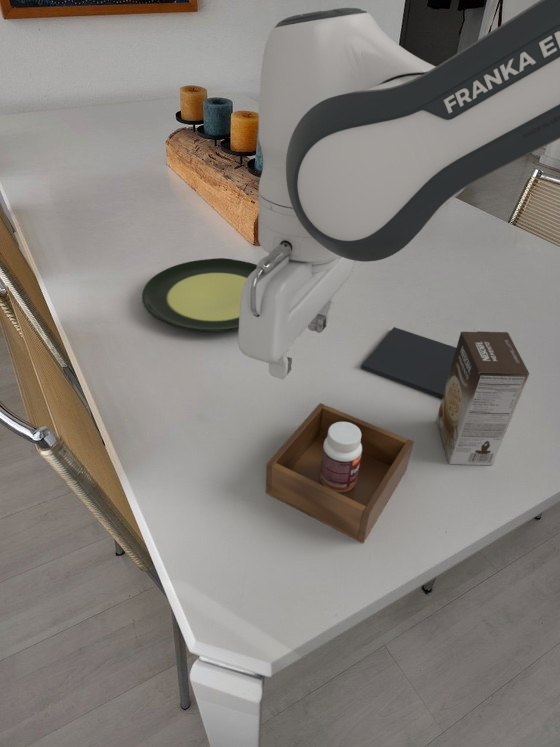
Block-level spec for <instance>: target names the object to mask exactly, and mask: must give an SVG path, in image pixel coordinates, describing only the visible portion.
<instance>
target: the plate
mask: <svg viewBox="0 0 560 747" xmlns="http://www.w3.org/2000/svg"><path fill="white" fill-rule="evenodd" d="M255 269H257V264H256V263H252V262H249V261H243V260H238V259H233V258H228V257H227V258H226V257H225V258H224V257H218V258H217V257H216V258H205V259H198V260H197V259H196V260H191V261H187V262H182V263H179V264H175V265H173V266H170V267H168V268H165V269H164V270H162V271H160V272H158V273H157V274H155V275H154V276H153V277H151V278H150V279H149V280H148V281H147V282H146V283H145V285H144V287H143V289H142V291H141V301H142V304H143V307H144V308H145V309H146V311H147V312H148V313H149V314H150V315H151V316H153V317H154V318H156V319H158V320H159V321H162V322H164V323H166V324H169V325H170V326H174V327H175V328H179V329H184V330H189V331H195V332H227V331H229V332H230V331H236V330H239V315H240V303H241V295H242V290H243V287H244V284H245V281H246V279H247V278H248V276H249V275H250V274H251V273H252V272H253V271H254V270H255Z"/></svg>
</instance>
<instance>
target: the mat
mask: <svg viewBox="0 0 560 747" xmlns="http://www.w3.org/2000/svg"><path fill="white" fill-rule="evenodd" d="M456 348H457V346H454V345H453V346H452V345H450V344H447V343H444V342H441V341H437V340H434V339H431V338H428V337H425V336H423V335H420V334H416V333H414V332H410V331H407V330H404V329H401V328H398V327H395V326H394V327H392V329H391V330H390V331H389V332H388V333H387V335H385V337H383V339H382V340H381V341H380V342H379V343H378V345H377V346H376V347H375V349H374V350H372V352H371V353H369V355H368V357H367V358H366V359H365V360H364V361H363V362H362V364H361V365H360V369H362V370H364V371H366V372H370V373H372V374H375V375H377V376H381V377H383V378H386V379H389V380H391V381H393V382H396V383H399V384H402V385H404V386H407V387H410V388H412V389H415V390H417V391H421V392H423V393H426V394H429V395H430V396H433V397H437V398H439V399H442V398H443V394H444V390H445V387H446V383H447V379H448V376H449V372H450V369H451V365H452V362H453V358H454V355H455V351H456Z"/></svg>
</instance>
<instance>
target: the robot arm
mask: <svg viewBox="0 0 560 747" xmlns="http://www.w3.org/2000/svg"><path fill="white" fill-rule="evenodd" d="M258 98H259V99H258V142H259V145H260V146H259V147H260V149H261V153H262V171H261V174H260V178H259V181H258V190H257V191H258V194H257V198H258V207H257V208H258V209H257V210H258V214H257V215H258V217H257V218H258V220H257V222H258V225H257V226H258V229H257V230H258V231H257V232H258V233H257V239H258V243H259V245H260V247H261V248H262V249H263V250H264V251H266V252H267V253H268V255H266V256H264V257H262V258H261V259H260V260H259V261H258V263H257V264H256V265H257V269H255V270H254V271H253V272H252V273H251V274H250V275H249V276H248V278H247V279H246V281H245V284H244V287H243V290H242V295H241V303H240V315H239V329H238V333H237V334H238V338H237V340H238V341H237V344H238V345H237V346H238V349H239V351H240V352H241V353H242V354H243V355H244V356H246V357H248V358H251V359H254V360H257V361H260V362H263V363H266V364H268V373H269V375H270V376H271V377H274V378H276V379H278V380H279V379H280V380H284V379H286V377H287V376H288V375H289V373H290V372H291V371H292V364H293V358H292V357H289V356H288V355H287V353H288V352H289V350H290V348H291V347H292V346H293V344H294V343H295V342H296V341H297V339H298V338H299V337H301V335H302V334H303V332H304V331H306V329H307V328H308V330H309V331H311V332H315V333H319V334H320V333H322V332H323V331H324V330H325V329H326V328H327V326H328V321H329V314H330V311H331V308H332V305H333V303H334V300H335V296H336V294H337V292H338V291H339V290H340V289H341V288H342V287H343V286H344V284H345V283H347V281H348V280H349V279H350V277H351V276H352V272H354V271H353V270H354V268H355V265H356V262H362V263H364V262H365V263H366V262H368V263H369V262H376V261H381V260H384V259H387V258H390V257H391V256H393V255H395V254H397V253H399V252H400V251H401V250H402V249H404V248H405V247H406V246H407V245H409V243H411V241H412V240H414V238H415V237H416V236H417V235H418V234H419V233H420V232H421V231H422V230H423V228H424V227H425V226H426V225H427V223H428V222H429V221H431V220H432V218H434V217H435V216H436V215H437V214H438V213H439V212H441V210H443V209H444V208H445V207H446V206H448V204H449V203H451V202H452V201H453V200H454V199H455V198H457V197H458V196H459V195H460V194H461V193H462V192H463V191H464V190H465V189H466V188H467V187H468V186H470V185H472V184H474V183H476V182H477V181H479V180H481V179H483V178H485V177H487V176H488V175H490V174H493V173H495V172H497V171H498V170H500V169H502V168H505V167H506V166H508V165H510V164H512V163H515V162H516V161H519V160H520V159H523V158H525V157H527V156H529V155H530V154H533V153H535V152H537V151H538V150H541V149H543V148H545V147H546V146H548V145H551V144H553V143H554V142H556V141H559V140H560V0H539V1H537V2H535V3H534V4H532V5H531V6H529V7H528V8H526V9H525V10H523V11H521V12H520V13H518V14H517V15H515V16H514V17H512V18H510V19H509V20H507V21H506V22H504V23H502V24H501V25H500V26H498V27H496V28H495V29H493V30H492V31H490V32H488V33H487V34H485V35H484V36H482V37H481V38H479V39H478V40H476V41H475V42H473V43H471V44H470V45H468V46H467V47H465V48H463V49H462V50H460V51H459V52H457V53H455V54H454V55H453V56H451V57H450V58H447V59H446V60H445V61H443V62H441V63H440V64H438V65H437V66H435V65H433V64H432V63H429V62H428V61H425V60H424V59H421V58H420V57H418V56H416V55H414V54H413V53H411V52H409V51H408V50H406V49H405V48H404V47H402V46H401V45H400V44H398V43H397V42H396V41H395V40H394V39H392V38H391V37H390V36H389V35H388V34H386V33H385V32H384V30H382V29H381V27H380V26H379V24H378V23H377V22H376V20H375V19H374V17H373V16H372V15H371V14H370V13H369V12H367V10H364V9H361V8H358V7H342V8H334V9H328V10H318V11H312V12H306V13H301V14H294V15H292V16H288V17H286V18H284V19H282V20H281V21H279V22H278V23H277V24H276V25H275V26H273V27H272V28H271V30H270V32H269V35H268V37H267V40H266V42H265V47H264V51H263V56H262V62H261V70H260V80H259V95H258Z"/></svg>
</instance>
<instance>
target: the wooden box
mask: <svg viewBox="0 0 560 747" xmlns="http://www.w3.org/2000/svg"><path fill="white" fill-rule="evenodd" d="M337 422H349V423H352V424H354V425H356V426H357V427H358V428H359V429H360V431H361V442H360V443H361V445H362V453H361V459H360V465H359V471H358V476H357V481H356V484H355V486H354V487H353V488H352V489H351V490H349V491H347V492H342V493H339V492H335V491H333V490H331V489H329V488H327V487H325V486H324V485H323V484H322V482H321V479H320V472H321V464H322V455H323V445H324V441H325V439H326V438H327V436H328V430H329V428H330V426H331V425H332V424H334V423H337ZM413 446H414V441H413V440H410V439H408V438H406V437H404V436H401V435H398V434H396V433H394V432H391V431H389V430H386V429H384V428H381V427H380V426H376V425H374V424H372V423H369V422H367V421H365V420H362V419H360V418H358V417H355V416H353V415H350V414H348V413H345V412H343V411H341V410H338V409H336V408H334V407H331V406H328V405H326V404H324V403H322V402H320V403H319V404H318V405H317V406H316V407H315V408H314V409H313V411H311V413H310V414H309V415H308V416H307V417H306V419H304V420H303V422H302V423H301V424H300V425H299V426H298V427H297V428H296V429H295V431H294V432H293V433H292V434H291V435H290V436H289V438H288V439H287V440H286V441H285V442H284V443H283V445H281V447H280V448H278V450H277V451H276V452H275V453H274V455H273V456H272V457H271V458H270V459H269V460H268V462H267V463H266V467H265V468H266V469H265V470H266V471H265V473H266V474H265V494H266V495H269V496H270V497H273V498H274V499H276V500H278V501H280V502H282V503H284V504H286V505H288V506H290V507H292V508H294V509H296V510H298V511H299V512H301V513H304V514H305V515H307V516H309V517H311V518H313V519H315V520H317V521H319V522H321V523H323V524H325V525H327V526H329V527H331V528H332V529H335V530H336V531H339V532H340V533H342V534H344V535H346V536H348V537H350V538H351V539H353V540H356V541H358V542H360V543H362V544H364V543H365V542H366V539H367V538H368V537H369V535H370V533H371V532H372V530H373V528H374V526H375V525H376V522H377V521H378V519H379V518H380V516H381V515H382V513H383V512H384V509H385V507H386V506H387V504H388V502H389V501H390V499H391V497H392V496H393V495H394V493H395V490H396V489H397V487H398V485H399V484H400V482H401V480H402V478H403V477H404V476H405V474H406V472H407V470H408V465H409V461H410V457H411V454H412V450H413Z"/></svg>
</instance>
